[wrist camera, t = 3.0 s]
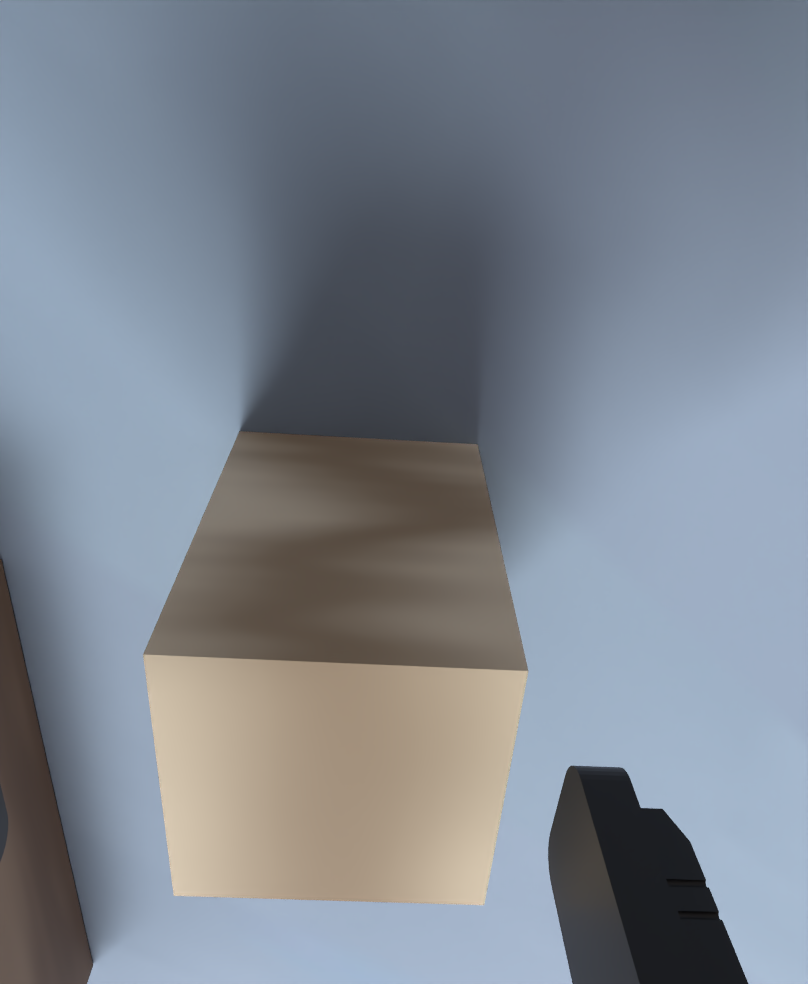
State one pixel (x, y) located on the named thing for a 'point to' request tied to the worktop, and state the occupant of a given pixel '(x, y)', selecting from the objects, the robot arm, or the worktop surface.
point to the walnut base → (32, 840)
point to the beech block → (338, 676)
